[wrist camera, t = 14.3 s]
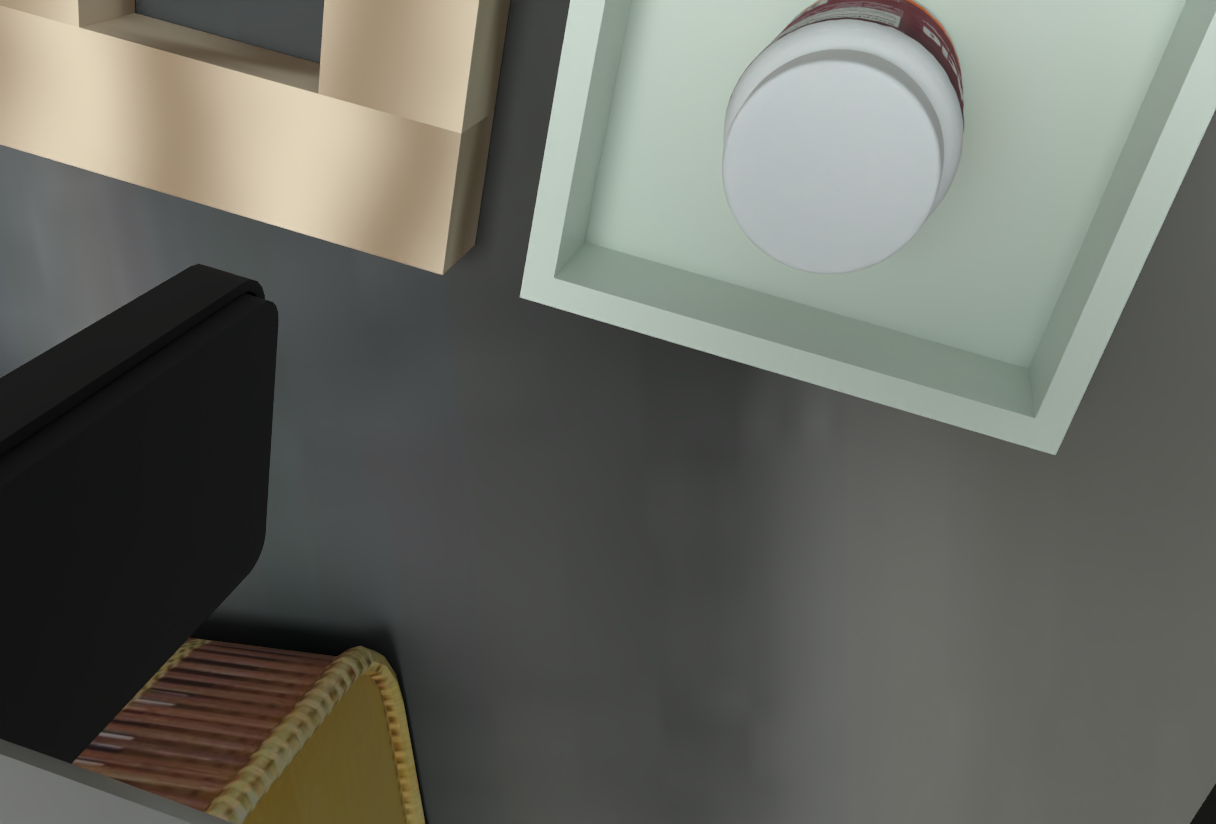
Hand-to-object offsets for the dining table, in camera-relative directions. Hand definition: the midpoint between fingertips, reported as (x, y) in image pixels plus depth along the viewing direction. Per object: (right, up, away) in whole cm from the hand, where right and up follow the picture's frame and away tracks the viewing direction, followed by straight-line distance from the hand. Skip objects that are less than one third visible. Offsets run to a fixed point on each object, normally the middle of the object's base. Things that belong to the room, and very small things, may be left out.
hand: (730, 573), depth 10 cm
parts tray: (+5, +10, +19) cm, 22 cm away
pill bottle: (+5, +10, +18) cm, 21 cm away
